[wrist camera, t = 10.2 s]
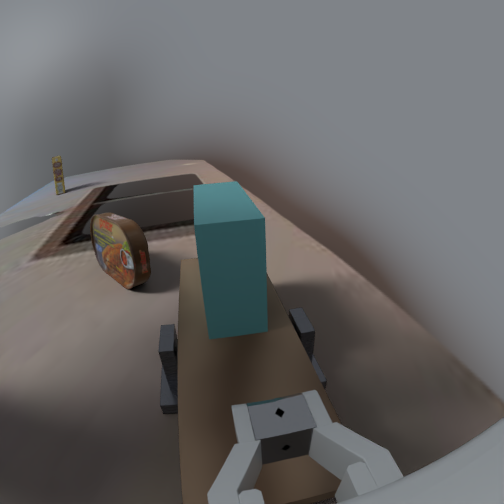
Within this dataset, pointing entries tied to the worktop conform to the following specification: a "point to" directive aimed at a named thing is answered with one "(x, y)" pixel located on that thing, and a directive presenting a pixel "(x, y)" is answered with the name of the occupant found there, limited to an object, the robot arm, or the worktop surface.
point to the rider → (231, 260)
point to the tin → (120, 249)
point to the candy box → (58, 175)
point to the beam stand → (171, 357)
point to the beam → (240, 396)
